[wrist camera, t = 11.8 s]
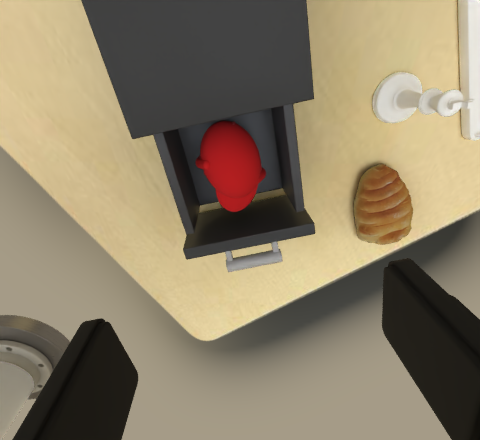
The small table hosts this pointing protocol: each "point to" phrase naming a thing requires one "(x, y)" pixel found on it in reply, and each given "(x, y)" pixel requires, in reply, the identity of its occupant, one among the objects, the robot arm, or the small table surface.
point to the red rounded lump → (231, 164)
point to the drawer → (256, 213)
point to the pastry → (382, 206)
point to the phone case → (470, 65)
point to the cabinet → (201, 58)
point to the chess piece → (413, 99)
